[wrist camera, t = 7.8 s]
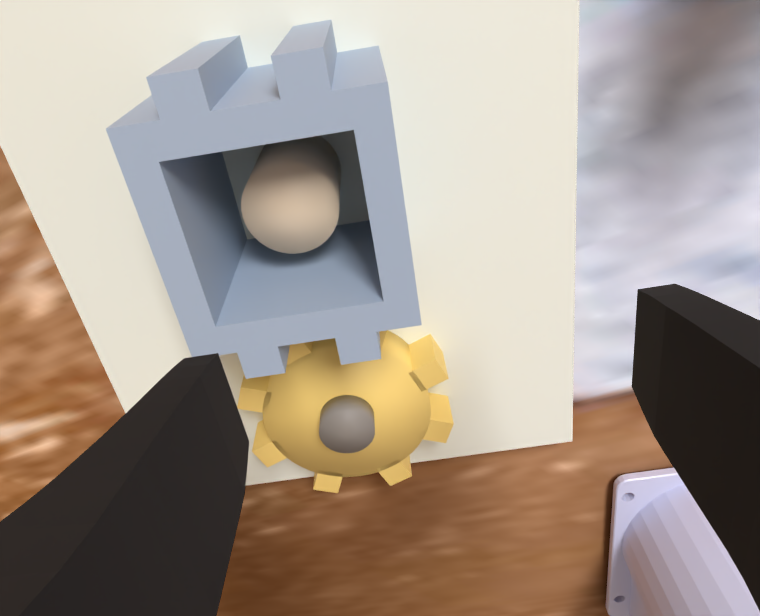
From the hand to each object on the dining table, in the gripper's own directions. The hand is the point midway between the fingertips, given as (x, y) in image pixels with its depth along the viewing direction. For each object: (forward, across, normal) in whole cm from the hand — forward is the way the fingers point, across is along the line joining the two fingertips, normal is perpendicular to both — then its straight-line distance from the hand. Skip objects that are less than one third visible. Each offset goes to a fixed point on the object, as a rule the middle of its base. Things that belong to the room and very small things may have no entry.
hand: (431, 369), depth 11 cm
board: (+10, +3, +2) cm, 10 cm away
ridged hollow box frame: (+9, +3, -1) cm, 9 cm away
